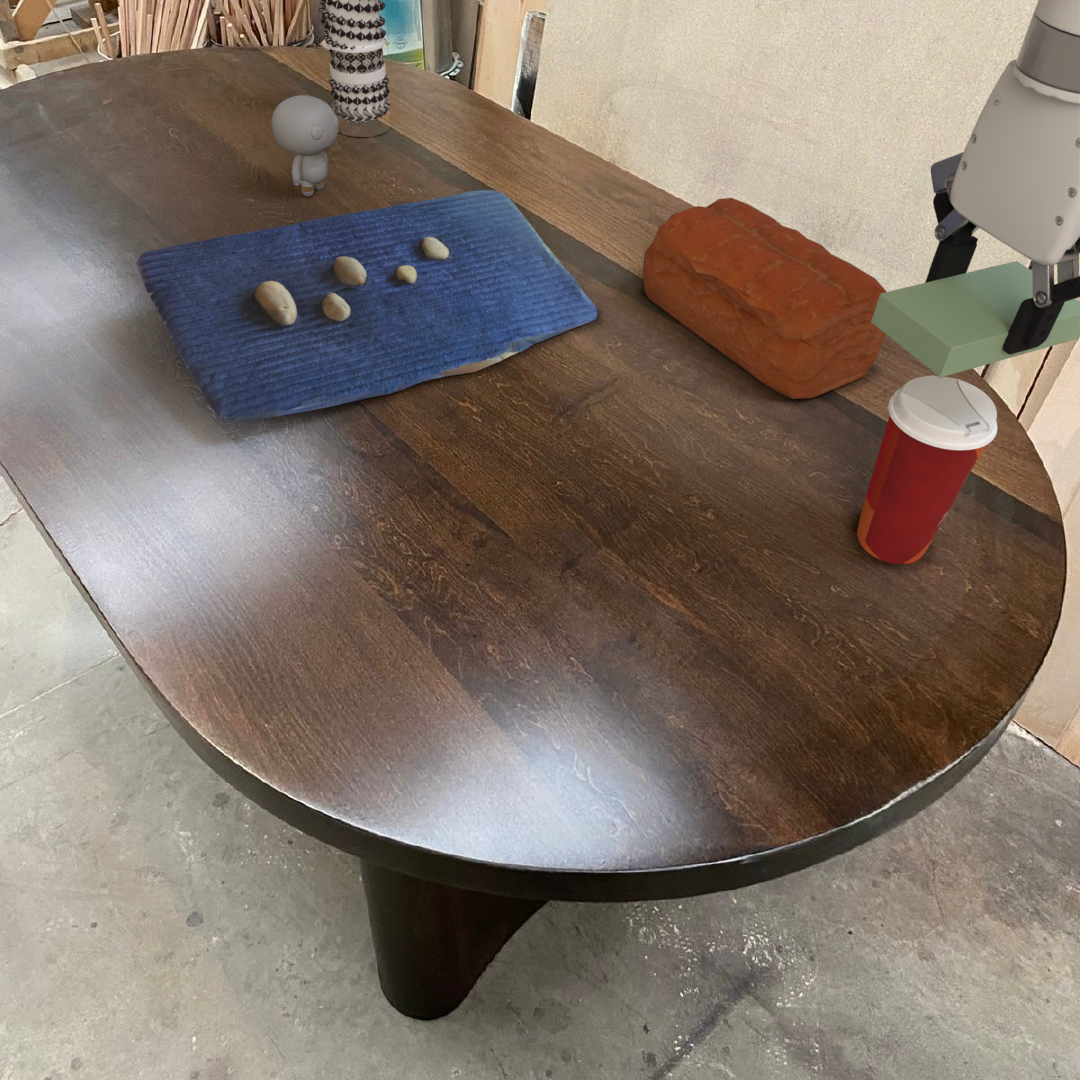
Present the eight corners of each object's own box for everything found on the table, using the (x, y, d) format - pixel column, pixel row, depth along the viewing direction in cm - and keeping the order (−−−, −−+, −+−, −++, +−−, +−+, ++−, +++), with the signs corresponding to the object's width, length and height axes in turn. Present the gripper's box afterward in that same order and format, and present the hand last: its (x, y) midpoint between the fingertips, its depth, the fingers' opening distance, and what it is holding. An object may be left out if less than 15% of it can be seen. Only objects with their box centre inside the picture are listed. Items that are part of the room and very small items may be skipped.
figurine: (320, 211, 124) (308, 117, 116) (272, 198, 126) (256, 104, 118) (355, 187, 129) (345, 95, 121) (308, 175, 132) (296, 84, 123)
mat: (473, 235, 126) (491, 160, 117) (588, 384, 116) (618, 314, 107) (125, 314, 104) (113, 229, 95) (231, 504, 95) (230, 430, 85)
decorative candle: (330, 139, 140) (306, -57, 123) (333, 114, 147) (312, -76, 129) (393, 139, 141) (379, -56, 124) (394, 114, 148) (381, -74, 130)
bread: (725, 260, 119) (741, 176, 112) (890, 367, 104) (921, 278, 96) (625, 293, 113) (635, 206, 105) (785, 412, 97) (810, 321, 90)
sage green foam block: (1004, 288, 74) (1016, 260, 72) (1078, 338, 69) (1093, 309, 68) (870, 322, 70) (880, 293, 68) (939, 378, 65) (951, 348, 63)
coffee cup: (959, 560, 83) (1027, 422, 72) (880, 584, 81) (939, 444, 70) (899, 498, 88) (955, 361, 78) (824, 519, 86) (871, 380, 75)
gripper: (1262, 103, 52) (1112, 373, 65) (1025, 6, 63) (936, 253, 76) (1166, 121, 50) (1030, 398, 62) (937, 17, 61) (860, 270, 73)
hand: (979, 317), depth 69 cm, fingers closed on sage green foam block, 7 cm apart
